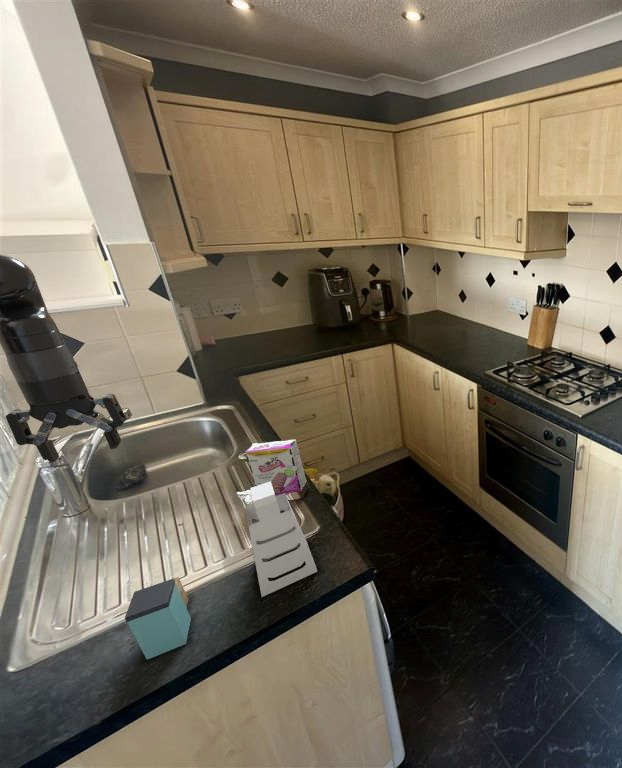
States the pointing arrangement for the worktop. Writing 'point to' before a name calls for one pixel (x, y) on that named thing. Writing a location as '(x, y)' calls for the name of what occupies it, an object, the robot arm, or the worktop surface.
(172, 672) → the worktop surface
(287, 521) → the grater
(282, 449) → the candy bar box
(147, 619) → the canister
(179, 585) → the prop block
